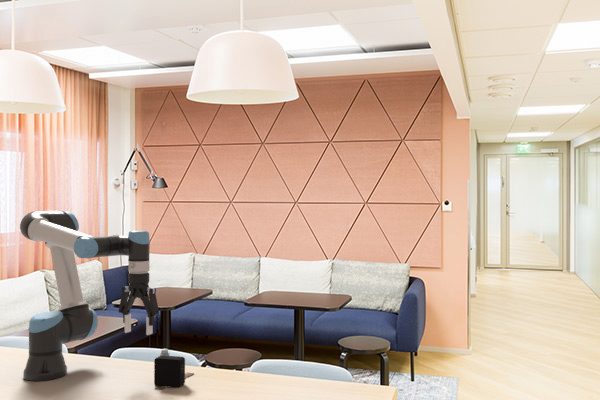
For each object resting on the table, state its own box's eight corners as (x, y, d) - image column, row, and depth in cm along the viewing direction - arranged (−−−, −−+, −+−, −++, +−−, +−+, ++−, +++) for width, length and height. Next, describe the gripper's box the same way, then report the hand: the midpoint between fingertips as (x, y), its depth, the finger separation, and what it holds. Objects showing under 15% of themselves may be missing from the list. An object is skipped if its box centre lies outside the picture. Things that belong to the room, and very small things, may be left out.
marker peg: (157, 373, 215) (157, 350, 215) (163, 371, 218) (163, 348, 218) (165, 374, 213) (165, 351, 213) (171, 372, 216) (171, 348, 217)
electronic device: (179, 388, 197) (180, 359, 197) (154, 386, 199) (154, 358, 200) (184, 384, 201) (185, 356, 201) (159, 382, 203) (159, 355, 204)
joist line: (154, 388, 196) (154, 388, 196) (187, 373, 215) (187, 372, 215) (161, 390, 195) (161, 389, 195) (194, 374, 214) (194, 373, 214)
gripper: (108, 272, 207) (107, 332, 207) (157, 274, 199) (156, 337, 198) (122, 270, 214) (121, 328, 213) (169, 272, 206) (169, 333, 205)
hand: (138, 333), depth 206 cm, fingers open, 9 cm apart
